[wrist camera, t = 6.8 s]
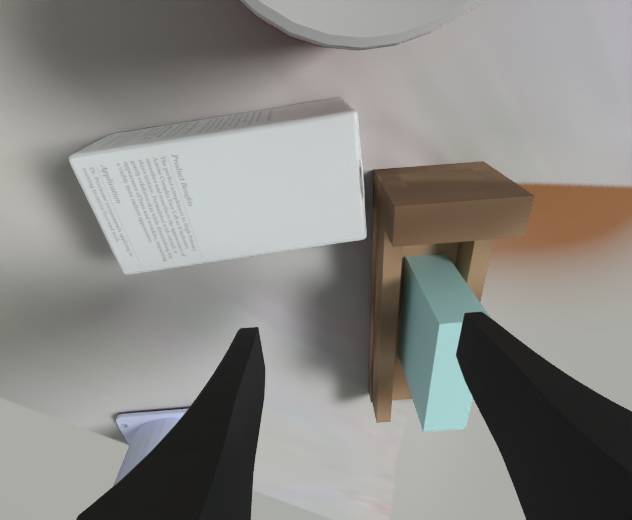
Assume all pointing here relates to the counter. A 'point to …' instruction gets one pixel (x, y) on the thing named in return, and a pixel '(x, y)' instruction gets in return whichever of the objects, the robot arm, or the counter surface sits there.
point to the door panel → (435, 340)
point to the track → (431, 247)
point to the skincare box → (227, 186)
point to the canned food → (358, 20)
